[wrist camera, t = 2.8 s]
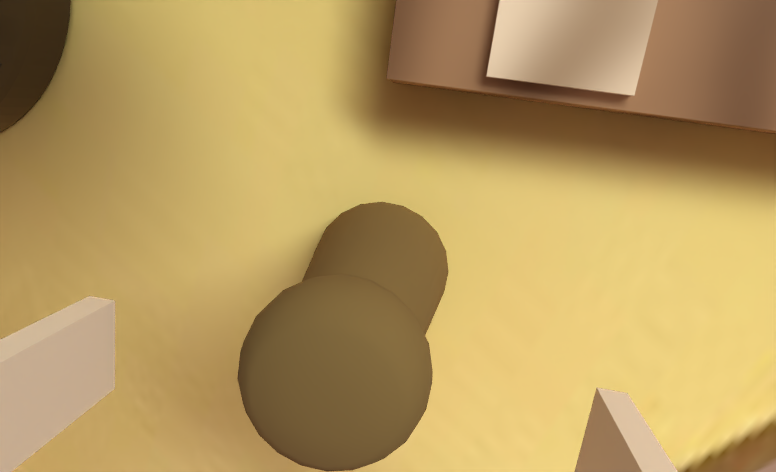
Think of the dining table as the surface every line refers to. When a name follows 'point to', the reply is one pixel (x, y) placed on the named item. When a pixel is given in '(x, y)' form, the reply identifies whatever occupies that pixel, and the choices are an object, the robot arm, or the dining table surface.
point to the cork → (348, 342)
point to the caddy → (599, 55)
